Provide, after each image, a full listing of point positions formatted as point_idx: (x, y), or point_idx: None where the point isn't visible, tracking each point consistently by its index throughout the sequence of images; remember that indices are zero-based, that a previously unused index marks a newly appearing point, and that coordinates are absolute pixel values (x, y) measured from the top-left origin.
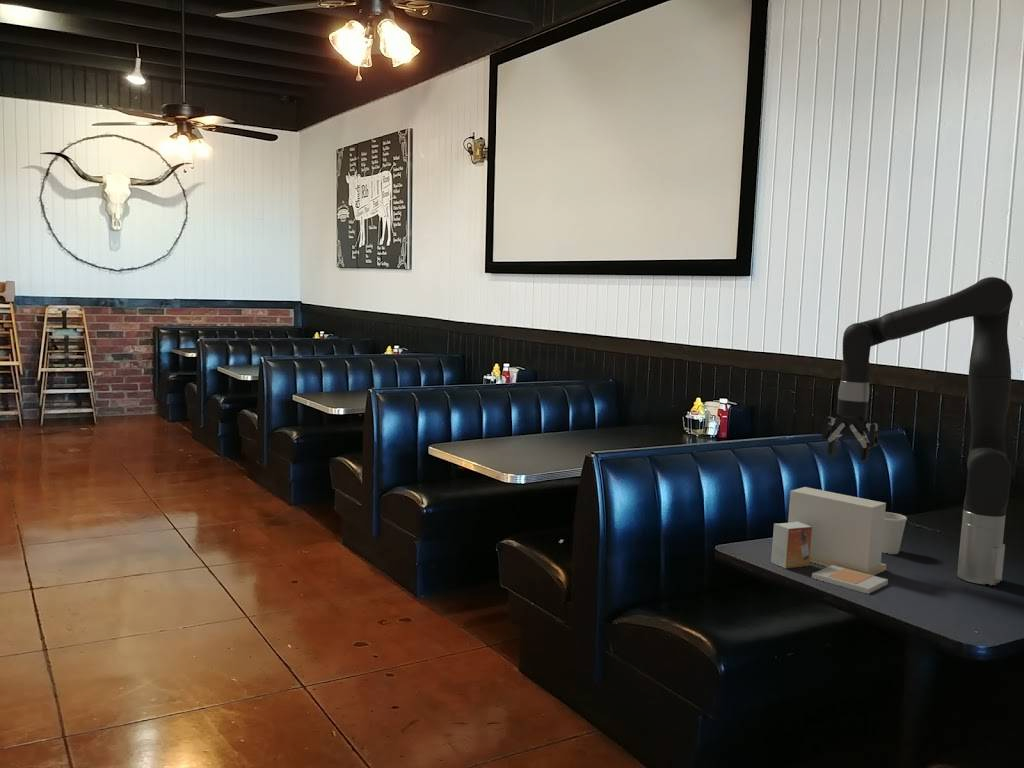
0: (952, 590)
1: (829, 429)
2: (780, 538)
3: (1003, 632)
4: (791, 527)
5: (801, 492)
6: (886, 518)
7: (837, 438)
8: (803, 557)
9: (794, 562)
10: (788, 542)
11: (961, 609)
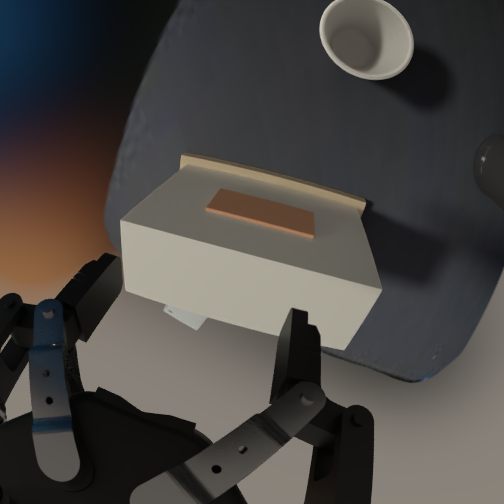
0: (453, 248)
1: (3, 364)
2: None
3: (458, 346)
4: (197, 323)
5: (150, 295)
6: (364, 77)
7: (65, 334)
8: None
9: None
10: None
11: (442, 313)
